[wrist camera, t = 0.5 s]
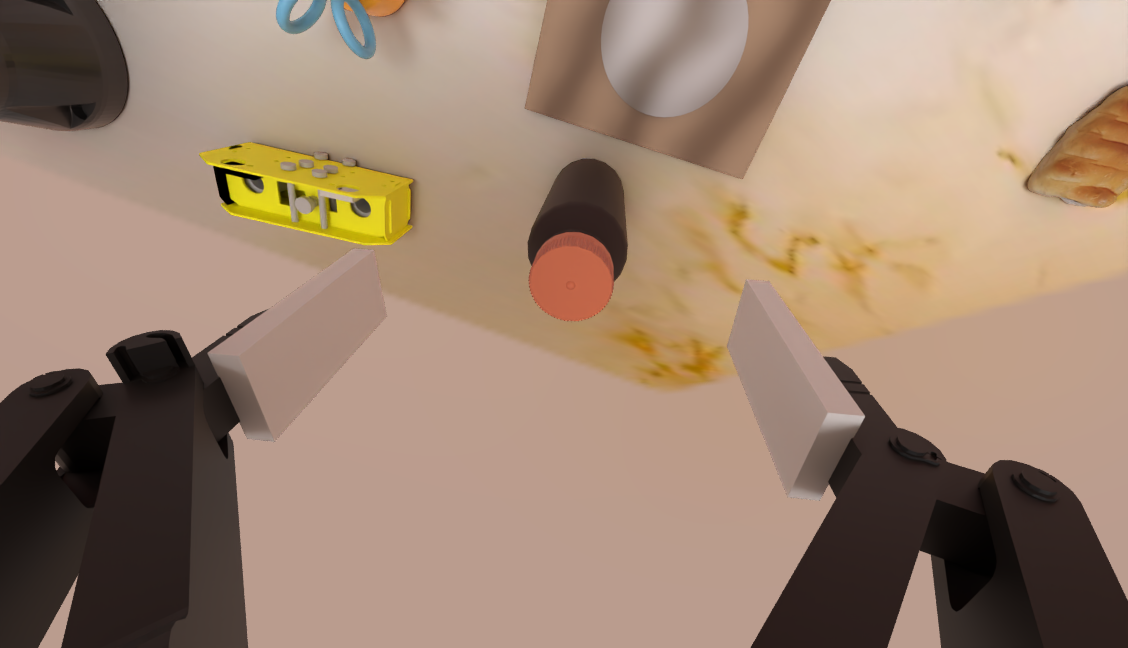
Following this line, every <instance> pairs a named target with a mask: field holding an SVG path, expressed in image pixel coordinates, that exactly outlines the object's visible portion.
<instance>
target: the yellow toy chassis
mask: <svg viewBox="0 0 1128 648" xmlns="http://www.w3.org/2000/svg"><path fill="white" fill-rule="evenodd" d="M199 155H200V157H201V158H202V159H203V160H204V161H205V162H206V164H209V165H213V168H214V172H215V177H216V182H217V186H218V191H219V196H220V197H221V199H222V200H223V201H224V203H222V204H221V206H222V207H223V208H224V209H225V210H226V211H227V212H228V213H229V214H230V215H234V216H238V217H243V218H247V219H252V220H256V221H261V222H265V223H269V224H274V225H278V226H283V227H287V228H291V229H296V230H300V231H305V232H309V233H313V234H318V235H322V236H327V237H331V238H336V239H340V240H344V241H349V242H353V243H358V244H362V245H392V244H393V243H394V242H395V241H397V240H398V239H399V238H400V237H402V236H403V235H404V234H405V233H406V232H408V231H409V230H410V229H411V228H412V226H411V225H407V224H408V220H409V219H410V204H411V190H410V189H409V184H411V183H412V182H413V180H412V179H408V178H403V177H399V176H395V175H390V174H386V173H382V172H377V171H373V170H369V169H364V168H360V167H356V161H355V160H353V159H347V158H345V159H342V163H338V162H334V161H330V160H327V159H328V154H327V153H323V152H314V157H312V156H308V155H304V154H299V153H295V152H291V151H286V150H282V149H278V148H273V147H269V146H264V145H260V144H256V143H251V142H248V143H243V144H239V145H234V146H230V147H225V148H220V149H216V150H211V151H206V152H202V153H199Z"/></svg>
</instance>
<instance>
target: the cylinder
mask: <svg viewBox="0 0 1128 648" xmlns="http://www.w3.org/2000/svg"><path fill="white" fill-rule="evenodd" d="M297 1H298V0H279V2H278V5H277V9H276V19H277V22H278V24H279V26H280V27H281V28H282V29H283V30H284V31H285V32H287V33H290V34H298V33H301V32H304V31H306V30H307V29H309V28H310V27H311V26H312V25H314V24H315V22H316V21H317V20H318V19H319V17H320V16H321V14H322V13H323V11H324V8H325V5H326V1H327V0H313V2H312V4H311V6H310V8H309V9H308V10H307V12H306V13H305V14H304V15H303V16H301V17H300V18H299V19H297V20H294V21H290V20H289V17H290V13H291V10H292V8H293V7H294V5H295V3H296V2H297ZM404 1H405V0H331V8H332V13H333V17H334V20H335V23H336V25H337V28H338V30H339V32H340V34H341V36H342V38H343V39H344V41H345V42H346V44H347V45H348V47H349V48H350V49H351V50H352V51H353V52H354V53H355V54H356V55H357V56H359V57H361V58H364V59H369V58H371V57H372V56H373V55H374V53H375V50H376V39H375V34H374V30H373V27H372V24H371V22H370V19H369V17H368V15H372V16H387V15H390V14H392V13H394V12H396V11H397V10H398V9H399V8H400V7H401V6H402V4H403V3H404ZM344 9H346V10H349V11H352V12H354V13H355V14H356V16H357V18H358V20H359V22H360V25H361V27H362V30H363V34H364V39H365V45H364V46H362V45H361V44H360V43H359V42H358V40H357V39H356V37H355V36H354V34H353V33H352V31H351V29H350V27H349V24H348V22H347V19H346V16H345V11H344Z"/></svg>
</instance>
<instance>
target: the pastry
mask: <svg viewBox="0 0 1128 648" xmlns="http://www.w3.org/2000/svg"><path fill="white" fill-rule="evenodd" d="M1127 188H1128V86H1125V87H1123V88H1120V89H1119V90H1117V91H1116V92H1114V93H1113V94H1111V95H1110V96H1108V97H1107V98H1106V99H1105V100H1104V101H1103V102H1102V104H1100V105H1099V106H1098V107H1097V108H1096V109H1094V110H1093V111H1091V112H1090V113H1088V114H1087V115H1086V116H1085V117H1083V118H1082V119H1081V120H1079V121H1077V122H1076V123H1074V124H1073V125H1071V126H1070V127H1069V128H1068V129H1067V130H1066V132H1065V135H1064V136H1063V137H1062V138H1061V139H1060V140H1059V141H1058V142H1057V143H1056V144H1055V146H1054V147H1053V148H1052V149H1051V150H1050V151H1049V152H1048V153H1047V154H1046V156H1045V157H1044V158H1043V159H1042V161H1041V162H1040V163H1039V164H1038V166H1037V167H1036V168H1035V170H1034V171H1033V173H1032V175H1031V176H1030V178H1029V180H1028V189H1029V190H1030V191H1031V192H1034V193H1037V194H1040V195H1044V196H1048V197H1052V196H1054V197H1060V198H1061V199H1062V200H1063V201H1064V202H1066V203H1068V204H1073V205H1076V206H1083V207H1085V206H1090V207H1096V208H1103V207H1107V206H1109V205H1111V204H1113V203H1114V202H1115V201H1116V198H1117V196H1118V195H1119V194H1121V193H1122V192H1123V191H1124V190H1125V189H1127Z"/></svg>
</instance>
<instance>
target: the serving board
mask: <svg viewBox="0 0 1128 648" xmlns="http://www.w3.org/2000/svg"><path fill="white" fill-rule="evenodd" d="M830 1H831V0H547V5H546V10H545V14H544V19H543V24H542V29H541V33H540V38H539V43H538V48H537V52H536V57H535V62H534V66H533V71H532V76H531V81H530V85H529V90H528V95H527V100H526V104H525V109H528V110H531V111H534V112H537V113H540V114H543V115H546V116H549V117H552V118H556V119H559V120H562V121H565V122H568V123H571V124H574V125H577V126H580V127H583V128H586V129H589V130H592V131H596V132H599V133H602V134H605V135H608V136H611V137H614V138H617V139H620V140H623V141H626V142H629V143H633V144H636V145H639V146H642V147H645V148H648V149H651V150H654V151H657V152H660V153H663V154H666V155H669V156H673V157H676V158H679V159H682V160H685V161H688V162H691V163H694V164H697V165H700V166H703V167H706V168H709V169H713V170H716V171H719V172H722V173H725V174H728V175H731V176H734V177H737V178H740V179H743V178H744V176H745V173H746V171H747V169H748V167H749V165H750V163H751V161H752V159H753V157H754V155H755V153H756V151H757V149H758V147H759V145H760V143H761V141H762V139H763V137H764V135H765V133H766V131H767V129H768V127H769V125H770V123H771V121H772V119H773V117H774V115H775V113H776V111H777V109H778V107H779V105H780V103H781V100H782V98H783V96H784V94H785V92H786V90H787V88H788V86H789V84H790V82H791V80H792V78H793V76H794V74H795V72H796V70H797V68H798V66H799V64H800V62H801V60H802V58H803V56H804V54H805V52H806V50H807V48H808V46H809V44H810V42H811V40H812V38H813V36H814V34H815V32H816V29H817V27H818V25H819V23H820V21H821V19H822V17H823V15H824V13H825V11H826V9H827V7H828V5H829V3H830Z"/></svg>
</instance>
